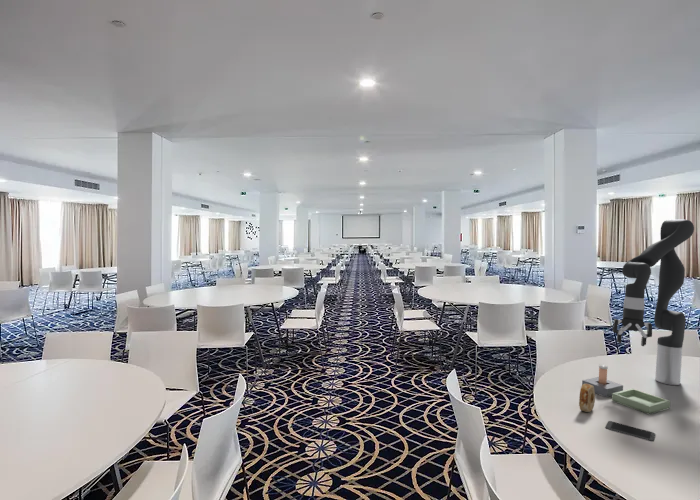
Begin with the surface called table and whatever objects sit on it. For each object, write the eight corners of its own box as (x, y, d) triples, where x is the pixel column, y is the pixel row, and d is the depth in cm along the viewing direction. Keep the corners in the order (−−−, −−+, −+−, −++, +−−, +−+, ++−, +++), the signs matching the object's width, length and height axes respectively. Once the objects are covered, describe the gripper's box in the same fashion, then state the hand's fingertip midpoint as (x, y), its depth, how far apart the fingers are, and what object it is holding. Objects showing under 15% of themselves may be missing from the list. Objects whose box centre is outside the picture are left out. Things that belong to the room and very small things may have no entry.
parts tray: (632, 395, 176) (632, 388, 176) (669, 408, 164) (670, 400, 164) (611, 400, 170) (612, 393, 170) (649, 414, 158) (649, 406, 158)
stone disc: (587, 416, 155) (589, 389, 154) (576, 412, 158) (578, 386, 157) (596, 408, 162) (597, 383, 162) (585, 405, 165) (587, 380, 164)
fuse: (600, 388, 183) (602, 364, 183) (608, 391, 180) (609, 366, 180) (596, 389, 182) (597, 365, 181) (603, 392, 179) (604, 367, 178)
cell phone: (608, 422, 151) (608, 420, 151) (655, 435, 142) (655, 432, 142) (604, 429, 145) (604, 427, 145) (653, 443, 137) (654, 440, 137)
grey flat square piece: (597, 384, 188) (598, 376, 188) (622, 393, 178) (623, 385, 178) (581, 388, 183) (582, 380, 183) (606, 397, 174) (607, 389, 173)
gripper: (650, 308, 184) (648, 345, 184) (613, 305, 190) (610, 340, 190) (655, 310, 177) (652, 348, 177) (616, 306, 183) (613, 343, 183)
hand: (631, 344), depth 184 cm, fingers open, 8 cm apart
